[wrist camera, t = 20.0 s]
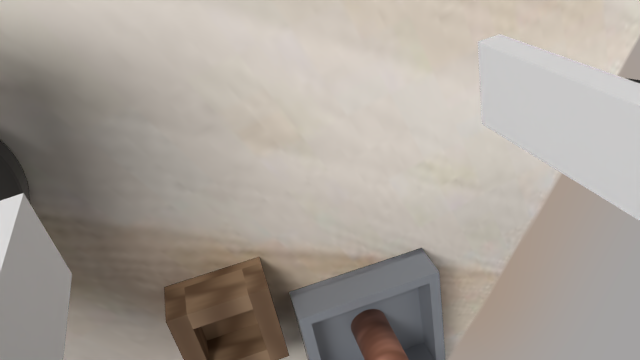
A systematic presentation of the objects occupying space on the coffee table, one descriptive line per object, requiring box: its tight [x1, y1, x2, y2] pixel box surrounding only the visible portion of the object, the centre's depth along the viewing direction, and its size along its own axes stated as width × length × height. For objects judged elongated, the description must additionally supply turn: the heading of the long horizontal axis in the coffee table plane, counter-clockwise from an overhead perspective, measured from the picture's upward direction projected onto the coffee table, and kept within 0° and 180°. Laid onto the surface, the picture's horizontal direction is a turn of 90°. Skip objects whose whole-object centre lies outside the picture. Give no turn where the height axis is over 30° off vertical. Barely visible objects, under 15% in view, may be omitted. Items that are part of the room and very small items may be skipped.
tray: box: [289, 248, 445, 360], centre depth 63 cm, size 16×16×4 cm
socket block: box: [164, 257, 289, 360], centre depth 56 cm, size 10×10×5 cm
